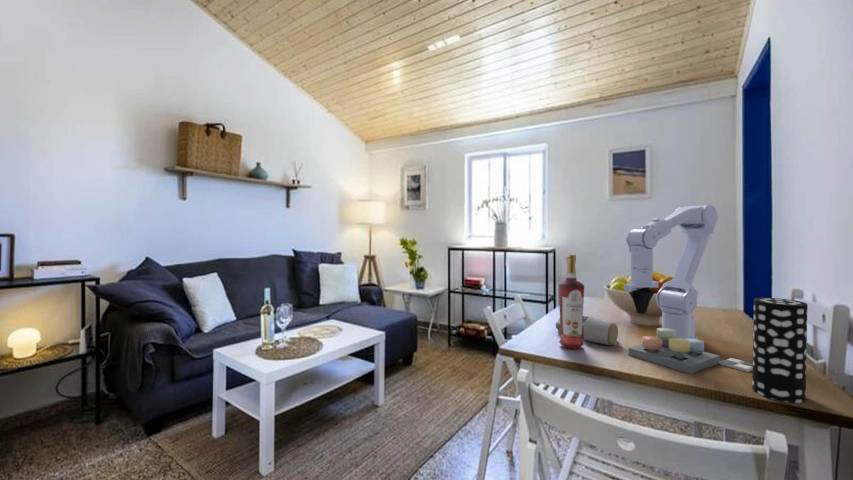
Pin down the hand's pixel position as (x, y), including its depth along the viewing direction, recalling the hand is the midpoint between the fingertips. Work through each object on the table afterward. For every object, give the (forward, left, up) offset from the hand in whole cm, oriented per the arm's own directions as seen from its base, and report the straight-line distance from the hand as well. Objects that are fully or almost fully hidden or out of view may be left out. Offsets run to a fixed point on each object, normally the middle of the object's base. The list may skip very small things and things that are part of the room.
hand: (641, 313), depth 113 cm
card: (-5, +22, -10) cm, 25 cm away
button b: (0, +15, -9) cm, 17 cm away
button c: (+7, +7, -9) cm, 14 cm away
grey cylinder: (+7, -8, -10) cm, 15 cm away
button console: (+4, +11, -10) cm, 15 cm away
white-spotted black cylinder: (+7, +34, -10) cm, 36 cm away
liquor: (+19, -10, -10) cm, 24 cm away
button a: (0, +7, -8) cm, 11 cm away
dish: (+5, -19, -10) cm, 22 cm away
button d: (+7, +15, -8) cm, 18 cm away
